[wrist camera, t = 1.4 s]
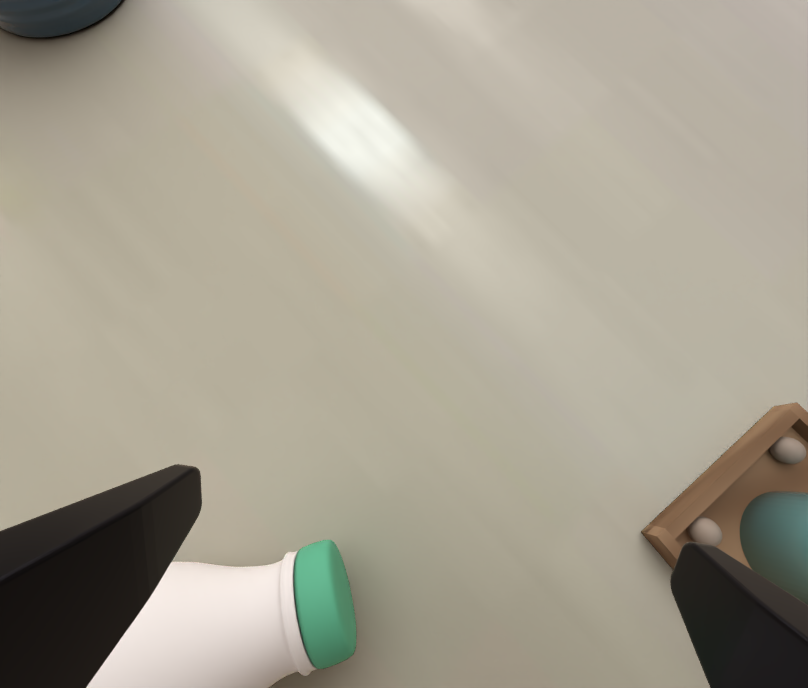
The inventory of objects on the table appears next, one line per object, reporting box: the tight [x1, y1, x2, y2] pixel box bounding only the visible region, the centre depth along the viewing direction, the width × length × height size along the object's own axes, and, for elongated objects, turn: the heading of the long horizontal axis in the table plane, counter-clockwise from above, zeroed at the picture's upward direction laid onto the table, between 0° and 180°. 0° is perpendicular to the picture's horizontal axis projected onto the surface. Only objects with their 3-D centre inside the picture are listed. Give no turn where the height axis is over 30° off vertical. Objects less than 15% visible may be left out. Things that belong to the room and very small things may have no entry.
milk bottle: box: [86, 540, 356, 688], centre depth 16 cm, size 8×8×20 cm
